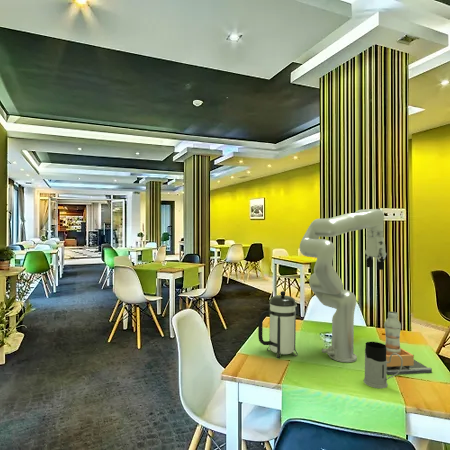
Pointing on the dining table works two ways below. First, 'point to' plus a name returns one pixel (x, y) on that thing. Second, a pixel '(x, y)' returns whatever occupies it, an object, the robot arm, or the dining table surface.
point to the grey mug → (377, 365)
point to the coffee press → (280, 325)
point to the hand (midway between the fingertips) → (374, 268)
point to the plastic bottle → (392, 334)
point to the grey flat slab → (410, 369)
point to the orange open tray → (396, 360)
